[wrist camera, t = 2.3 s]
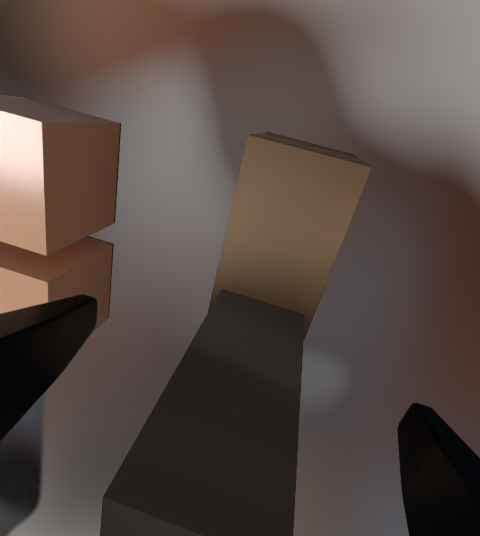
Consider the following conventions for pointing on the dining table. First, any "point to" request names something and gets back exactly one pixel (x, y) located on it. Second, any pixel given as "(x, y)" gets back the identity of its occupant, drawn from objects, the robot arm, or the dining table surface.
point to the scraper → (243, 358)
